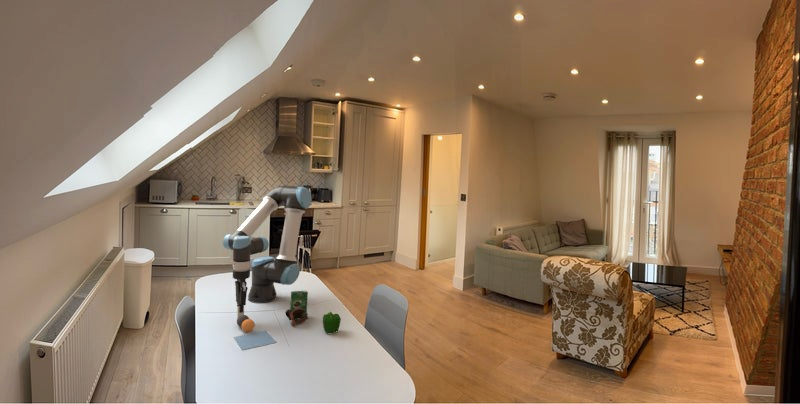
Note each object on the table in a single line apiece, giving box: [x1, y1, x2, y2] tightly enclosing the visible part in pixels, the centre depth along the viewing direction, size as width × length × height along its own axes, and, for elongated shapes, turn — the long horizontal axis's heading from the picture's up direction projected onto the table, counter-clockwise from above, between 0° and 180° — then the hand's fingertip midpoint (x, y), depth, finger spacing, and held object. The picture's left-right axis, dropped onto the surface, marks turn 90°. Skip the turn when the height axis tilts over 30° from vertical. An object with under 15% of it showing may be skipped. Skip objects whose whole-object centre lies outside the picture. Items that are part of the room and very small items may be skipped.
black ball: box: [236, 314, 250, 328], centre depth 184 cm, size 6×6×6 cm
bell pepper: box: [322, 311, 342, 334], centre depth 183 cm, size 8×8×10 cm
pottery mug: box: [284, 308, 309, 327], centre depth 192 cm, size 12×10×8 cm
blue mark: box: [233, 330, 277, 351], centre depth 171 cm, size 14×14×1 cm
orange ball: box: [241, 318, 256, 333], centre depth 179 cm, size 6×6×6 cm
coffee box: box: [289, 290, 309, 316], centre depth 199 cm, size 8×3×13 cm, turn 115°
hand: (240, 318), depth 189 cm, fingers closed
